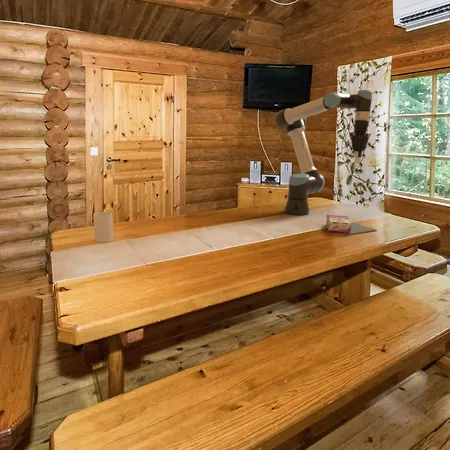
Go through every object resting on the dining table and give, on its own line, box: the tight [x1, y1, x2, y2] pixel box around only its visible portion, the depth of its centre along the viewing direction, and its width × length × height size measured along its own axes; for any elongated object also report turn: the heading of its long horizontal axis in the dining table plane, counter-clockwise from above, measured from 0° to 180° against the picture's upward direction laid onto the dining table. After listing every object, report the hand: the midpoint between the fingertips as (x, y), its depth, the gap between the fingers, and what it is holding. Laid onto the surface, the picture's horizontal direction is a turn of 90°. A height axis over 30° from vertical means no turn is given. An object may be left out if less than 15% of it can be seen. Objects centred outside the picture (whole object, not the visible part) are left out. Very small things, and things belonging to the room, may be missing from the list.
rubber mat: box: [326, 222, 378, 236], centre depth 208 cm, size 16×20×1 cm
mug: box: [93, 211, 115, 244], centre depth 178 cm, size 12×8×12 cm
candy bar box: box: [325, 214, 352, 233], centre depth 207 cm, size 11×5×16 cm
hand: (357, 163), depth 222 cm, fingers closed
